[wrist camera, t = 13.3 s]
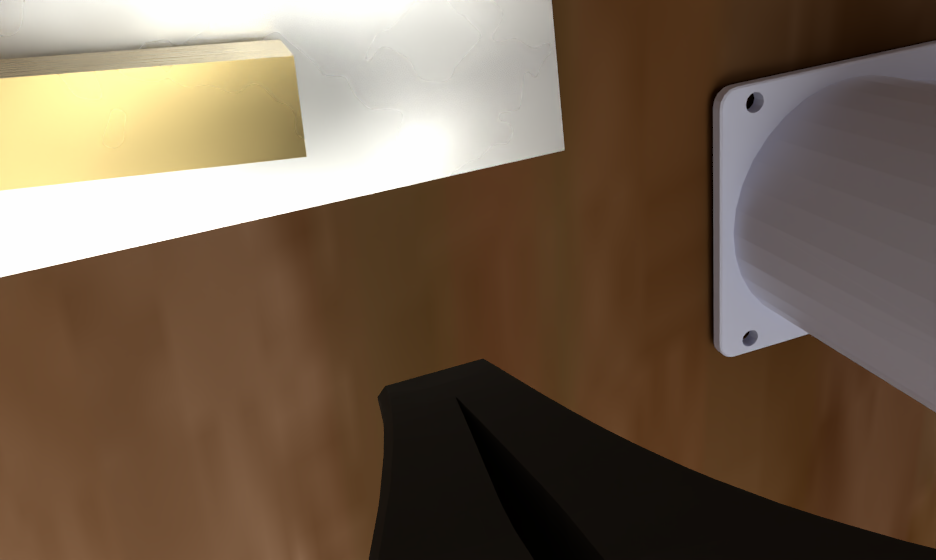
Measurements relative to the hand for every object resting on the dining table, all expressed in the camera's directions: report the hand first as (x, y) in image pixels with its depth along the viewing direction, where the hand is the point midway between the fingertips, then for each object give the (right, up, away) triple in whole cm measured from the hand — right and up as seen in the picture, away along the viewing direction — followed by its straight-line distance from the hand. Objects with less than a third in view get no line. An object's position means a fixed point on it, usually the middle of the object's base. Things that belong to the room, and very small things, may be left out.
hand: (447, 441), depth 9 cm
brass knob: (-7, +6, +5) cm, 11 cm away
